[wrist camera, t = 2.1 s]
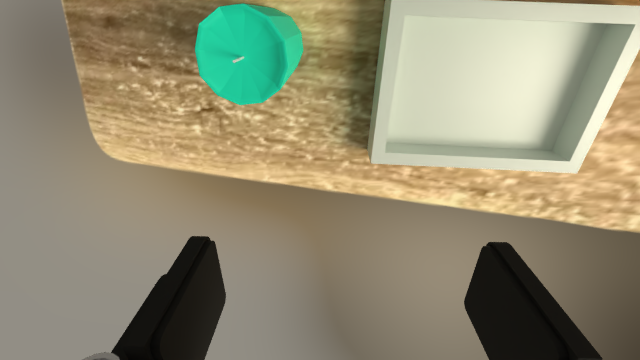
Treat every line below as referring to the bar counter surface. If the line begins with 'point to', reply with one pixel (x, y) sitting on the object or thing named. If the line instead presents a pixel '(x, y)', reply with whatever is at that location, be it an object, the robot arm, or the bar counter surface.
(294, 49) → the candle
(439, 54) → the tray
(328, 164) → the bar counter surface
